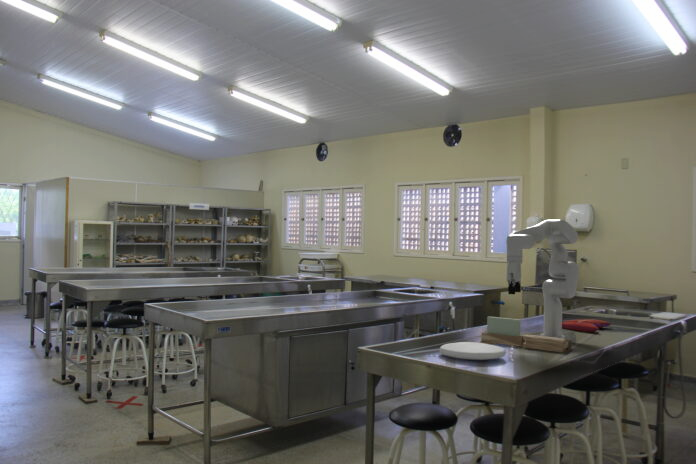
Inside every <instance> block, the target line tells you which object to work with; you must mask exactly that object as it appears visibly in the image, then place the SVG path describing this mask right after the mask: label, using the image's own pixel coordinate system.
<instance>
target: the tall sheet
mask: <svg viewBox="0 0 696 464" xmlns="http://www.w3.org/2000/svg"><path fill="white" fill-rule="evenodd" d="M486 323H487V325H486V331H487V333H492V334H501V335H510V336H518V337H520V335H521V319H517V318H509V317H508V318H507V317H499V316H498V317H497V316H487V318H486Z"/></svg>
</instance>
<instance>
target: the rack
mask: <svg viewBox="0 0 696 464" xmlns="http://www.w3.org/2000/svg"><path fill="white" fill-rule="evenodd" d="M523 340H525V343H523V345H522V348H523V349H524V348H525V349H531V350H538V351H539V350H541V351H542V350H543V351H549V352H557V353H563V354H566V353H568V352H569V351H570V350H571V349H573V348H572V346H573V345H572V339H567V338H554V337H545V336H540V335H534V334H527V333H526V334H524V335H523Z"/></svg>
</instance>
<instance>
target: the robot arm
mask: <svg viewBox="0 0 696 464" xmlns="http://www.w3.org/2000/svg"><path fill="white" fill-rule="evenodd" d="M544 239H546V241H547V243H548V245H549V247H550V251H551V254H550V261H549V266H548V275H549V276H550V277H552V278H555V279H546V280H544V281H543V283H542V286H541V291H542V295H543V328H542V329H543V332H542V333H540V335H539V336H545V337H554V338H563V339H566V336H565V334H563V327H562V322H563V303H562V301H561V299H560V298H562V299H572V298H574V297H575V295H576V292H577V287H578V282H579V275H580V267H579V264H578V263H577V262H575V261H572V260H571V261H569V260H568V251H567V248H565V246H564V245H574V244H575V243H577V242H578V239H579V234H578V232H577V230H576V228H574V227H573V226H572V225H571V224H570V223H569V222H567V220H564V219H561V218H558V219H554V218H553V219H552V218H551V219H545V220H543V221H541V222H538V223H537V224H535V225H533V226H530V227H526V228H523V229H522V228H521V229H519V230H516V231H513V232H511V233H510V234H509V235H507V236H506V241H505V242H506V263H507V264H506V282H507V283H508V284H507V286H508V287H507V288H508V291H507V294H508V295H515V294H516V293H521V292H522V291H521V289H522V287H521V286H522V285H521V281H522V263H523V250H531V249H532V248H533V247H534V246H535V245H536V242H537V243H538V242H541V241H543V240H544ZM561 279H562V280H561ZM563 279H565V280H563Z"/></svg>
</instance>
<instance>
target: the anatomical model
mask: <svg viewBox="0 0 696 464" xmlns="http://www.w3.org/2000/svg"><path fill="white" fill-rule="evenodd" d="M611 325H612V323H610V322H609V321H605V320H600V319H593V318H592V319H590V318H589V319H570V320H566V321H564V322H563V321H562V329H566V330H570V331H577V332H583V333H591V332H597V331H599V330H600V329H601V328H606V327H609V326H611Z"/></svg>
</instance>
